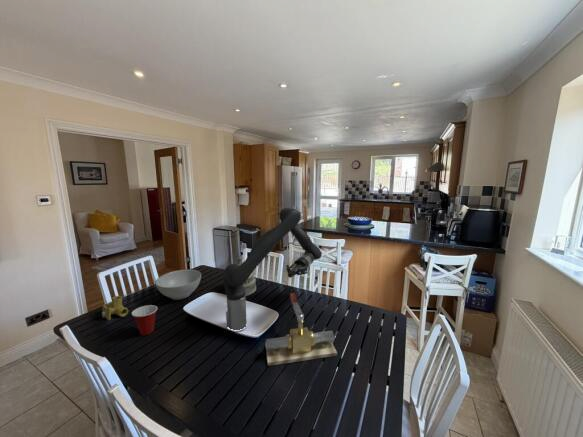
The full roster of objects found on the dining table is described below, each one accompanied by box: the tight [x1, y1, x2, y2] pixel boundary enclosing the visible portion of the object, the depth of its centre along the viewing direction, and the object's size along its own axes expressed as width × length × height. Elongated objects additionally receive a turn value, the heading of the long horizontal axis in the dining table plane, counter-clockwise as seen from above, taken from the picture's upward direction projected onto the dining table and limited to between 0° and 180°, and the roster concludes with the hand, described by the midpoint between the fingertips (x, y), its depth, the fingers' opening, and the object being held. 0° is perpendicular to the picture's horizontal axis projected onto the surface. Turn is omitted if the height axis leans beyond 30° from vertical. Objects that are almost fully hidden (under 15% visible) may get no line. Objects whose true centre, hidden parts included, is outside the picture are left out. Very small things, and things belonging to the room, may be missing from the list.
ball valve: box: [101, 295, 129, 321], centre depth 129 cm, size 13×10×10 cm
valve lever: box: [289, 292, 305, 324], centre depth 109 cm, size 20×3×3 cm, turn 11°
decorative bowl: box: [154, 269, 202, 301], centre depth 151 cm, size 27×27×12 cm
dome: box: [236, 254, 257, 297], centre depth 156 cm, size 20×25×20 cm
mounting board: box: [265, 342, 338, 367], centre depth 104 cm, size 30×12×3 cm, turn 101°
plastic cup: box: [131, 304, 158, 336], centre depth 115 cm, size 11×11×12 cm
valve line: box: [265, 322, 335, 354], centre depth 102 cm, size 30×7×13 cm, turn 101°
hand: (289, 275), depth 115 cm, fingers closed
